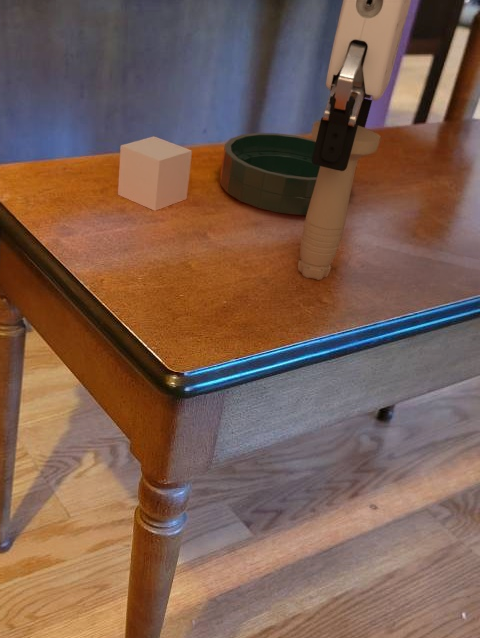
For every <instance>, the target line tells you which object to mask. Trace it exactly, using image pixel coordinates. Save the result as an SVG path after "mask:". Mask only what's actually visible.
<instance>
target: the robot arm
mask: <svg viewBox="0 0 480 638" xmlns="http://www.w3.org/2000/svg"><path fill="white" fill-rule="evenodd" d="M411 3H412V0H342V4H341V9H340V12H339V18H338V22H337V26H336V31H335V35H334V39H333V44H332V49H331V52H330V59H329V63H328V69H327V75H326V80H325V86H326V88H327V90H329V91H330V92H329V96H328V99H327V102H326V106H325V109H324V112H323V116H322V117H321V118H320V120H321V122H320V126H319V130H318V135H317V139H316V143H315V147H314V152H313V156H312V163H313V164H314V165H318V166H322V167H326V168H330V169H335V170H339V171H344V170H346V168H347V166H348V162H349V158H350V154H351V151H352V147H353V143H354V139H355V135H356V132H357V128H358V126H361V127H364V128H366V125H367V122H368V118H369V114H370V110H371V107H372V103H373V102H376V101H378V100H380V99H381V98H382V97H383V95H384V93H385V91H386V90H387V88H388V86H389V84H390V82H391V77H392V73H393V69H394V66H395V61H396V58H397V54H398V50H399V46H400V45H401V44H400V43H401V40H402V36H403V33H404V29H405V26H406V22H407V18H408V14H409V10H410V7H411Z"/></svg>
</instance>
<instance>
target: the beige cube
mask: <svg viewBox="0 0 480 638" xmlns="http://www.w3.org/2000/svg"><path fill="white" fill-rule="evenodd" d="M119 152H120V153H119V168H118V169H119V171H118V187H117V195H118V196H120V197H122V198H124V199H126V200H129V201H132V202H134V203H135V204H138V205H140V206H143V207H145V208H147V209H149V210H152V211H154V212H156V211H158V210H161V209H164V208H167V207H169V206H172V205H174V204H178V203H180V202H182V201H185V200H188V199H187V198H188V192H189V191H188V190H189V181H190V175H191V174H190V172H191V165H192V155H193V149H189V148H186V147H184V146H182V145H178V144H176V143H173V142H170V141H167V140H165V139H162V138H159V137H157V136H150V137H147V138H142V139H140V140H135V141H131V142H129V143H125V144H121V145H120V151H119Z"/></svg>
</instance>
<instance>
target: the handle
mask: <svg viewBox="0 0 480 638" xmlns="http://www.w3.org/2000/svg"><path fill="white" fill-rule="evenodd" d="M320 122H321V119H319V120H316V121H314V122H313V125H312V130H311V135H310V136H311V138H310V139H313V140H314V141H315V142H316V139H317V135H318V130H319V126H320ZM381 137H382V136H381V135H380V134H378V133H377V132H375V131H373V130H371V129H369V128H366V127H365V128H364V127H361V126H358V128H357V132H356V135H355V139H354V143H353V147H352V151H351V154H350V158H349V162H348V166H347V168H346V170H344V171H339V170H335V169H330V168H326V167H322V166H320V169H319V173H318V176H317V180H316V184H315V187H314V191H313V194H312V198H311V201H310V205H309V208H308V211H307V215H305V219H304V224H303V228H302V233H301V240H300V249H299V257H300V258H299V259H298V263H297V270H298V272H299V273H301V274H302V277H303V278H305V279H312V280H317V281H321V280H323V278H327V277H329V274H330V272H331V269H332V265H331V264H333V261H334V259H335V257H336V255H337V253H338V250H339V247H340V243H341V241H342V237H343V234H344V230H345V225H346V219H347V214H348V210H349V209H348V208H349V203H350V198H351V193H352V188H353V185H354V180H353V179H355V176H354V174H355V175H356V172H355V169H356V170H357V168H356V166H357V167H358V163H359V160H360V159H361V158H364V157H367V156H371V155H373V154H374V153H375V152H377V151H378V148H379V145H380V141H381Z"/></svg>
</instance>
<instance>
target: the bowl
mask: <svg viewBox="0 0 480 638" xmlns="http://www.w3.org/2000/svg"><path fill="white" fill-rule="evenodd" d="M315 143H316V142H315V141H314V140H313V139H312V138H310V137H304V136H299V135H293V134H287V133H286V134H285V133H275V132H255V133H254V132H253V133H245V134H243V133H242V134H240V135H237V136H234V137H231V138H229V140H227V142H225V143H224V147H223V153H222V161H221V168H220V174H219V182H220V183H219V184H220V186H221V188H222V189H223V190H224V191H225V192H226V193H227V194H228V195H229V196H231V197H232V198H234V199H236V200H238V201H239V202H242V203H244V204H247V205H249V206H252V207H255V208H258V209H261V210H266V211H270V212H275V213H279V214H286V215H287V214H288V215H295V216H296V215H297V216H306V215H307V211H308V208H309V205H310V201H311V198H312V194H313V191H314V187H315V184H316V180H317V176H318V173H319V169H320V166H318V165H314V164H313V163H312V156H313V152H314V147H315ZM357 169H358V165H357V166H356V169H355V174H354V177H355V175H356V172H357ZM354 179H355V178H354ZM354 179H353V181H354Z"/></svg>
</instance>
